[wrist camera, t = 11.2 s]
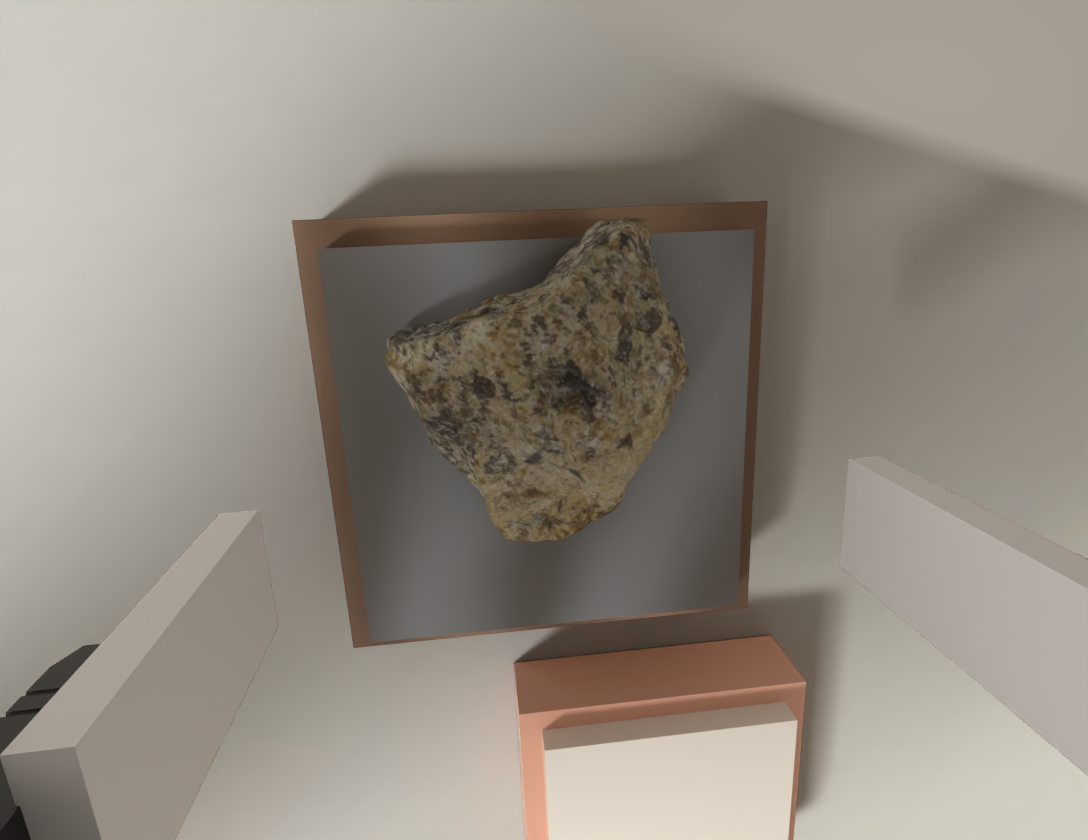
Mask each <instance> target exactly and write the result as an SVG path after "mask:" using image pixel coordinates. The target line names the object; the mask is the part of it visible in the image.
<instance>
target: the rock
mask: <svg viewBox="0 0 1088 840" xmlns="http://www.w3.org/2000/svg"><path fill="white" fill-rule="evenodd" d="M386 340H387V343H386V344H387V347H388V349H389V352H388V353H387V354H386V355H385V357H384V358H383V361H384V363H385V364H386V365H387V367H388V369H389V370H390V372H391V374H392V375H393V377H394V379H395V380H396V381H397V382H398V384H399V385H400V386H401V387H402V388H403V390H404V391H405V392H406V393H407V397H408V399H409V401H410V403H411V405H412V408H413V410H414V411H415V413H416V415H417V417H418V418H419V420H420V422H421V423H422V425H423V426H424V428H425V430H426V432H427V434H428V436H429V439H430V441H431V444H433V445H435V446H436V447H437V448H438V449H439V451H440V453H441V455H442V456H443V457H444V458H445V459H447V460H448V461H449V462H450V463H451V464H452V465H453V466H454V467H455V468H456V469H457V470H458V471H459V472H461V473H464V474H467V478H468V480H469V481H470V482H471V484H472V485H474V486H475V487H476V488H477V489H478V490H479V491H480V494H482V495H483V496H484V498H485V502H486V506H487V509H488V513H489V517H490V520H491V521H492V523H493V524H494V525H495V527H496V528H497V529H498V530H499V531H500V532H502V533H503V535H504V537H505V538H506V539H510V540H514V541H517V542H531V541H534V542H539V541H543V540H546V539H548V540H553V541H555V540H564V539H566V538H567V537H569V536H570V535H571V534H573V533H576V532H578V531H580V530H582V529H583V528H584V527H585V526H586V525H588V524H589V523H592V522H595V521H598V520H599V519H601V518H602V517H604V516H606V515H607V514H609V513H611V512H613V511H614V510H615V509H616V508H617V507H618V506H619V505H620V504H621V503H622V498H623V496H624V495H625V488H626V487H627V485H628V484H629V482H630V480H631V479H632V478H633V476H634V473H635V472H636V471H637V470H638V468H639V467H640V465H641V464H642V462H643V460H644V458H645V457H646V455H647V454H648V453H649V452H650V450H651V447H652V445H653V443H654V442H655V441H656V440H657V439H658V438H659V437H660V436H661V435H662V434H663V433H664V432H665V429H666V424H667V420H668V417H669V415H670V413H671V411H672V407H673V403H674V398H675V394H676V393H677V392H678V390H679V389H680V388H681V387H682V386H683V385H684V383H685V381H686V379H687V377H688V375H689V367H688V365H687V364H686V363H685V361H684V339H683V337H682V336H681V333H680V330H679V326H678V324H677V322H676V320H675V319H674V318H673V317H672V315H671V314H670V308H669V303H668V302H667V300H666V299H665V297H664V296H663V292H662V290H661V288H660V284H659V278H658V273H657V263H656V260H655V257H654V256H653V255H652V254H651V241H650V230H649V227H648V224H647V222H646V219H642V218H632V219H629V218H627V217H625V218H624V219H619V220H610V221H607V222H605V223H604V220H602V221H600V222H597V223H596V224H594V225H593V226H592V227H591V228H590V229H587V231H586V232H585V234H584V236H583V237H582V239H581V241H580V242H579V244H577V245H575V246H574V247H572V248H570V249H569V250H568V251H567V252H566V254H565V255H564V256H563V257H562V258H561V259H560V260H559V261H558V262H557V264H556V266H555V268H553V269H552V270H551V271H550V272H549V274H548V276H547V277H546V279H545V280H544V281H543V282H542V283H541V284H539V285H537V286H534V287H532V288H530V289H526V290H523V291H511V292H509V293H506V294H503V295H496V296H495V298H485V299H484V300H483V301H482V302H481V303H480V305H477V306H475V307H472V308H467V309H466V310H465V311H464V312H462V313H461V314H459V315H457V316H455V317H453V318H451V319H449V320H443V321H434V322H425V323H419V324H417V325H415V326H413V327H410V328H408V329H406V330H399V331H395V332H392V334H391V336H390V337H389V338H388V339H386Z"/></svg>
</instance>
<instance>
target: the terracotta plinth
mask: <svg viewBox="0 0 1088 840" xmlns="http://www.w3.org/2000/svg"><path fill="white" fill-rule="evenodd" d="M514 674H515V689H516V705H517V720H518V735H519V750H520V766H521V781H522V796H523V812H524V827H525V840H793V838H794V826H795V813H796V801H797V789H798V776H799V764H800V752H801V739H802V727H803V715H804V703H805V690H806V681H805V679H804V678H803V677H802V675H801V674H800V673H799V672H798V670H797V669H796V668H795V666H794V665H793V664H792V662H791V661H790V660H789V658H788V657H787V656H786V654H785V653H784V652H783V650H782V649H781V648H780V647H779V645H778V644H777V643H776V641H775V640H774V639H773V637H772V636H771V635H769V636H760V637H751V638H741V639H732V640H723V641H713V642H704V643H695V644H685V645H676V646H667V647H657V648H648V649H639V650H629V651H620V652H611V653H602V654H592V655H583V656H574V657H564V658H555V659H546V660H536V661H527V662H518V663H514Z"/></svg>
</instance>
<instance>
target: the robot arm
mask: <svg viewBox="0 0 1088 840" xmlns="http://www.w3.org/2000/svg"><path fill="white" fill-rule="evenodd" d="M839 566H840V567H841V568H842V569H843V570H844V571H846V572H847V573H848V574H849V575H850V576H852V577H853V578H854V579H855V580H856V581H857V582H859V583H860V584H861V585H862V586H863V587H865V588H866V589H867V590H868V591H869V592H871V593H872V594H873V595H874V596H875V597H876V598H878V599H879V600H880V601H881V602H882V603H884V604H885V605H886V606H887V607H888V608H889V609H891V610H892V611H893V612H894V613H895V614H897V615H898V616H899V617H900V618H901V619H903V620H904V621H905V622H906V623H907V624H908V625H910V626H911V627H912V628H913V629H914V630H916V631H917V632H918V633H919V634H920V635H921V636H923V637H924V638H925V639H926V640H927V641H929V642H930V643H931V644H932V645H933V646H935V647H936V648H937V649H938V650H939V651H940V652H942V653H943V654H944V655H945V656H946V657H948V658H949V659H950V660H951V661H952V662H953V663H955V664H956V665H957V666H958V667H959V668H961V669H962V670H963V671H964V672H965V673H967V674H968V675H969V676H970V677H971V678H972V679H974V680H975V681H976V682H977V683H978V684H980V685H981V686H982V687H983V688H984V689H985V690H987V691H988V692H989V693H990V694H991V695H993V696H994V697H995V698H996V699H997V700H999V701H1000V702H1001V703H1002V704H1003V705H1004V706H1006V707H1007V708H1008V709H1009V710H1010V711H1012V712H1013V713H1014V714H1015V715H1016V716H1017V717H1019V718H1020V719H1021V720H1022V721H1023V722H1025V723H1026V724H1027V725H1028V726H1029V727H1031V728H1032V729H1033V730H1034V731H1035V732H1036V733H1038V734H1039V735H1040V736H1041V737H1042V738H1044V739H1045V740H1046V741H1047V742H1048V743H1049V744H1051V745H1052V746H1053V747H1054V748H1055V749H1057V750H1058V751H1059V752H1060V753H1061V754H1062V755H1064V756H1065V757H1066V758H1067V759H1068V760H1070V761H1071V762H1072V763H1073V764H1074V765H1076V766H1077V767H1078V768H1079V769H1080V770H1081V771H1083V772H1084V773H1085V774H1086V775H1087V776H1088V559H1086V558H1084V557H1082V556H1080V555H1078V554H1076V553H1074V552H1072V551H1070V550H1068V549H1066V548H1064V547H1062V546H1060V545H1058V544H1056V543H1054V542H1052V541H1050V540H1048V539H1046V538H1044V537H1042V536H1040V535H1038V534H1036V533H1034V532H1032V531H1030V530H1028V529H1026V528H1024V527H1022V526H1020V525H1018V524H1016V523H1014V522H1012V521H1010V520H1008V519H1006V518H1004V517H1002V516H999V515H997V514H995V513H993V512H991V511H989V510H987V509H985V508H983V507H981V506H979V505H977V504H975V503H973V502H971V501H969V500H967V499H965V498H963V497H961V496H959V495H957V494H955V493H953V492H951V491H949V490H947V489H945V488H943V487H941V486H939V485H937V484H935V483H933V482H931V481H929V480H927V479H925V478H923V477H921V476H919V475H917V474H915V473H913V472H911V471H909V470H907V469H905V468H903V467H901V466H899V465H897V464H895V463H893V462H891V461H889V460H887V459H885V458H883V457H881V456H871V457H860V458H849V461H848V472H847V484H846V495H845V507H844V519H843V530H842V542H841V553H840V565H839ZM277 628H278V620H277V614H276V609H275V603H274V597H273V592H272V586H271V580H270V574H269V569H268V563H267V557H266V552H265V546H264V540H263V534H262V529H261V523H260V517H259V512H258V510H249V511H237V512H226V513H219V514H218V516H217V517H216V518H215V519H214V520H213V521H212V522H211V523H210V524H209V525H208V527H207V528H206V529H205V530H204V531H203V532H202V533H201V534H200V535H199V536H198V538H197V539H196V540H195V541H194V542H193V543H192V544H191V545H190V546H189V547H188V549H187V550H186V551H185V552H184V553H183V554H182V555H181V556H180V557H179V559H178V560H177V561H176V562H175V563H174V564H173V565H172V566H171V567H170V568H169V570H168V571H167V572H166V573H165V574H164V575H163V576H162V577H161V578H160V579H159V581H158V582H157V583H156V584H155V585H154V586H153V587H152V588H151V589H150V590H149V592H148V593H147V594H146V595H145V596H144V597H143V598H142V599H141V600H140V601H139V603H138V604H137V605H136V606H135V607H134V608H133V609H132V610H131V611H130V612H129V614H128V615H127V616H126V617H125V618H124V619H123V620H122V621H121V622H120V623H119V625H118V626H117V627H116V628H115V629H114V630H113V631H112V632H111V633H110V634H109V636H108V637H107V638H106V639H105V640H104V641H103V642H102V643H101V644H95V645H86V646H83V647H81V648H79V649H78V650H76V651H75V652H73V653H72V654H70V655H69V656H67V657H66V658H64V659H62V660H61V661H59V662H58V663H56V664H55V665H53V666H52V667H50V668H49V669H48V670H47V671H46V672H45V673H44V674H43V675H42V676H41V677H40V678H39V679H38V680H37V681H36V682H35V683H34V684H33V685H32V686H31V687H30V688H29V689H28V690H27V691H26V696H23V697H21V698H20V699H19V700H18V701H17V702H16V703H15V704H14V705H13V706H12V707H11V708H10V709H9V710H8V711H7V712H6V717H1V718H0V840H175V839H176V837H177V834H178V832H179V830H180V828H181V826H182V824H183V822H184V820H185V818H186V816H187V814H188V812H189V810H190V808H191V805H192V803H193V801H194V799H195V797H196V795H197V793H198V791H199V789H200V787H201V785H202V783H203V781H204V779H205V777H206V774H207V772H208V770H209V768H210V766H211V764H212V762H213V760H214V758H215V756H216V754H217V752H218V750H219V748H220V745H221V743H222V741H223V739H224V737H225V735H226V733H227V731H228V729H229V727H230V725H231V723H232V721H233V719H234V717H235V714H236V712H237V710H238V708H239V706H240V704H241V702H242V700H243V698H244V696H245V694H246V692H247V690H248V688H249V685H250V683H251V681H252V679H253V677H254V675H255V673H256V671H257V669H258V667H259V665H260V663H261V661H262V659H263V657H264V654H265V652H266V650H267V648H268V646H269V644H270V642H271V640H272V638H273V636H274V634H275V632H276V630H277Z"/></svg>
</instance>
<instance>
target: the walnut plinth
mask: <svg viewBox="0 0 1088 840" xmlns="http://www.w3.org/2000/svg"><path fill="white" fill-rule="evenodd" d="M625 217H627V218H629V219H632V218H642V219H646V222H647V224H648V227H649V230H650V241H651V254H652V255H653V256H654V257H655V260H656V263H657V273H658V278H659V284H660V288H661V290H662V292H663V296H664V297H665V299H666V300H667V302H668V303H669V308H670V314H671V315H672V317H673V318H674V319H675V320H676V322H677V324H678V326H679V330H680V333H681V336H682V337H683V339H684V361H685V363H686V364H687V365H688V367H689V375H688V377H687V379H686V381H685V383H684V385H683V386H682V387H681V388H680V389H679V390H678V392H677V393H676V394H675V398H674V403H673V407H672V411H671V413H670V415H669V417H668V420H667V424H666V429H665V432H664V433H663V434H662V435H661V436H660V437H659V438H658V439H657V440H656V441H655V442H654V443H653V445H652V447H651V450H650V452H649V453H648V454H647V455H646V457H645V458H644V460H643V462H642V464H641V465H640V467H639V468H638V470H637V471H636V472H635V473H634V476H633V478H632V479H631V480H630V482H629V484H628V485H627V487H626V488H625V495H624V496H623V498H622V503H621V504H620V505H619V506H618V507H617V508H616V509H615V510H614V511H613V512H611V513H609V514H607V515H606V516H604V517H602V518H601V519H599V520H598V521H595V522H592V523H589V524H588V525H586V526H585V527H584V528H583V529H582V530H580V531H578V532H576V533H573V534H571V535H570V536H569V537H567V538H566V539H564V540H555V541H553V540H548V539H546V540H543V541H539V542H534V541H531V542H517V541H514V540H510V539H506V538H505V537H504V535H503V533H502V532H500V531H499V530H498V529H497V528H496V527H495V525H494V524H493V523H492V521H491V520H490V517H489V513H488V509H487V506H486V502H485V498H484V496H483V495H482V494H480V491H479V490H478V489H477V488H476V487H475V486H474V485H472V484H471V482H470V481H469V480H468V478H467V474H464V473H461V472H459V471H458V470H457V469H456V468H455V467H454V466H453V465H452V464H451V463H450V462H449V461H448V460H447V459H445V458H444V457H443V456H442V455H441V453H440V451H439V449H438V448H437V447H436V446H435V445H433V444H431V441H430V439H429V436H428V434H427V432H426V430H425V428H424V426H423V425H422V423H421V422H420V420H419V418H418V417H417V415H416V413H415V411H414V410H413V408H412V405H411V403H410V401H409V399H408V397H407V393H406V392H405V391H404V390H403V388H402V387H401V386H400V385H399V384H398V382H397V381H396V380H395V379H394V377H393V375H392V374H391V372H390V370H389V369H388V367H387V365H386V364H385V363H384V361H383V358H384V357H385V355H386V354H387V353H388V352H389V349H388V347H387V344H386V343H387V340H386V339H388V338H389V337H390V336H391V334H392V332H395V331H399V330H406V329H408V328H410V327H413V326H415V325H417V324H419V323H425V322H434V321H443V320H449V319H451V318H453V317H455V316H457V315H459V314H461V313H462V312H464V311H465V310H466V309H467V308H472V307H475V306H477V305H480V303H481V302H482V301H483V300H484V299H485V298H495V296H496V295H503V294H506V293H509V292H511V291H523V290H526V289H530V288H532V287H534V286H537V285H539V284H541V283H542V282H543V281H544V280H545V279H546V277H547V276H548V274H549V272H550V271H551V270H552V269H553V268H555V266H556V264H557V262H558V261H559V260H560V259H561V258H562V257H563V256H564V255H565V254H566V252H567V251H568V250H569V249H570V248H572V247H574V246H575V245H577V244H579V242H580V241H581V239H582V237H583V236H584V234H585V232H586V231H587V229H590V228H591V227H592V226H593V225H594V224H596V223H597V222H600V221H602V220H604V223H605V222H607V221H610V220H619V219H624V218H625ZM766 218H767V201H756V202H731V203H707V204H683V205H658V206H634V207H609V208H585V209H561V210H536V211H512V212H487V213H463V214H439V215H414V216H390V217H365V218H341V219H317V220H292V224H293V231H294V238H295V245H296V252H297V259H298V266H299V273H300V280H301V287H302V294H303V300H304V307H305V314H306V321H307V328H308V335H309V342H310V349H311V356H312V363H313V370H314V377H315V384H316V391H317V397H318V404H319V411H320V418H321V425H322V432H323V439H324V446H325V453H326V460H327V467H328V474H329V481H330V488H331V494H332V501H333V508H334V515H335V522H336V529H337V536H338V543H339V550H340V557H341V564H342V571H343V578H344V585H345V591H346V598H347V605H348V612H349V619H350V626H351V633H352V640H353V647H354V648H357V647H366V646H376V645H386V644H396V643H405V642H415V641H425V640H435V639H444V638H454V637H464V636H474V635H483V634H493V633H503V632H513V631H522V630H532V629H542V628H551V627H561V626H571V625H581V624H590V623H600V622H610V621H620V620H629V619H639V618H649V617H659V616H668V615H678V614H688V613H698V612H707V611H717V610H727V609H737V608H746V607H747V600H748V580H749V560H750V540H751V520H752V499H753V479H754V459H755V439H756V419H757V399H758V379H759V359H760V338H761V318H762V298H763V278H764V258H765V238H766Z"/></svg>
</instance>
